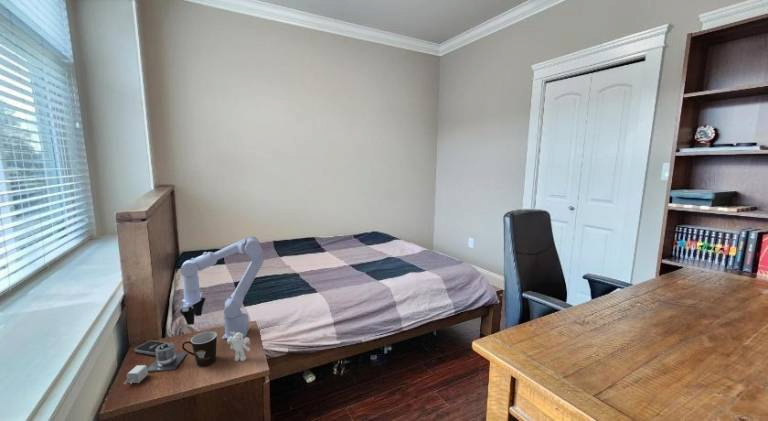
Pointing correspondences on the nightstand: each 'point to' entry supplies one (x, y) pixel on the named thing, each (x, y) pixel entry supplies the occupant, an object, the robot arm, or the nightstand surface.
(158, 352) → the ring
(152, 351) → the external hard drive
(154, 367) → the silver sculpture on base
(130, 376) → the usb wall charger
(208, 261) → the robot arm
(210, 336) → the coffee mug
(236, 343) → the hat wearing toy figure
